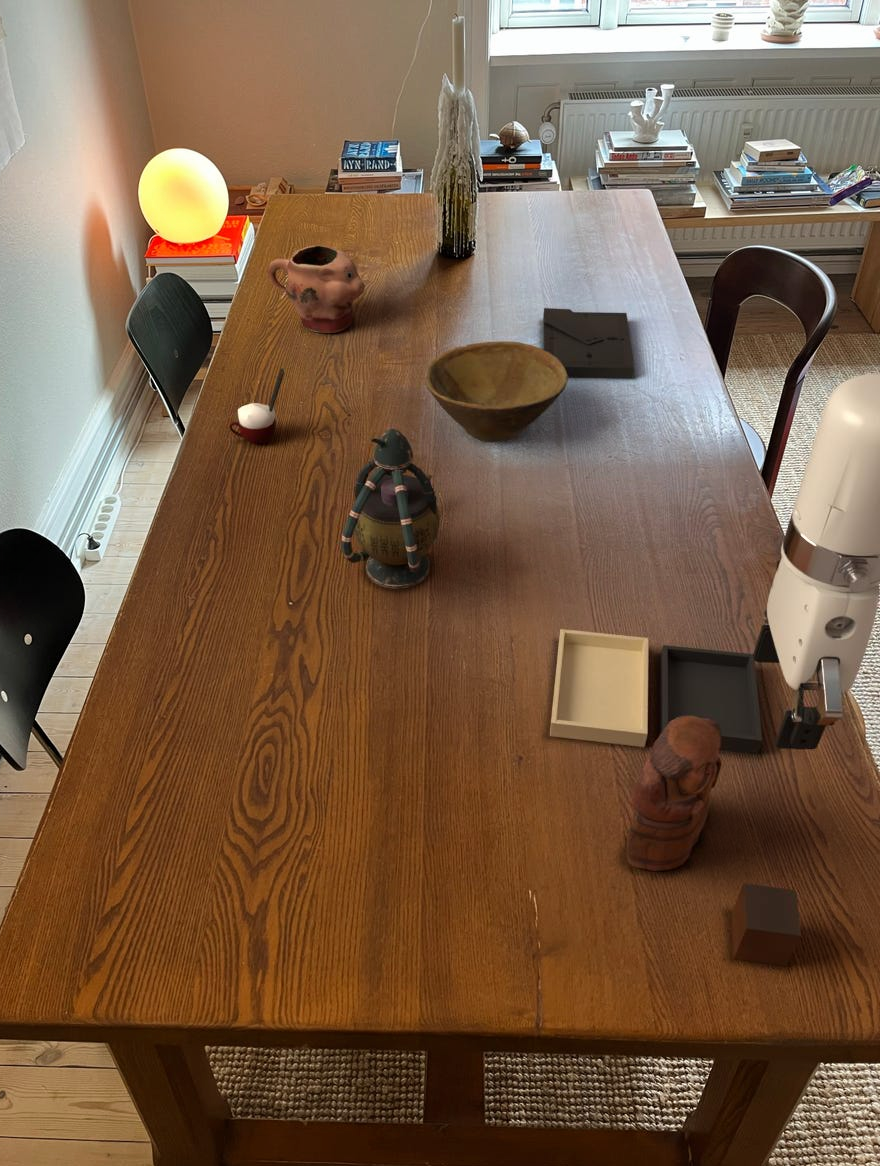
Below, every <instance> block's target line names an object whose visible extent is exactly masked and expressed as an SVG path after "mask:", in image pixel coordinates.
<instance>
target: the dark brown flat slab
mask: <svg viewBox="0 0 880 1166" xmlns="http://www.w3.org/2000/svg"><path fill="white" fill-rule="evenodd" d="M542 338H543V339H542V347H543V348H542V349H543V350H545V351H547V352H549V353H551V354H552V355H554V356H555V357H556V358H558V359H559V360H560V362H561V363H562V364H563V366H564V368H565V369H566V372H567V375H568V378H580V379H581V378H584V379H588V378H589V379H630V380H631V379H633V378H634V374H635V373H634V372H635V364H634V363H635V362H634V358H633V357H634V356H633V350H632V349H633V348H632V342H631V335H630V328H629V320H628V315H627V312H595V311H593V312H592V311H591V312H590V311H573V310H571V309H570V308H553V307H543V316H542Z"/></svg>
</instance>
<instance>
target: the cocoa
mask: <svg viewBox="0 0 880 1166" xmlns="http://www.w3.org/2000/svg"><path fill="white" fill-rule="evenodd" d="M284 370H285V369H283V368H280V370H279V372H278V375H277V379H276V381H275V386H274V389H273V391H272V395H271V398H270V401H269V404H268V405H267V404H263V403H260V402H251V403H249V404H246V405H243V406H241V407H239V408H238V409H237V417H238V418H237V421H231V422H230V423H229V430H230V431H231V432H232V433H233V434H234V435H236V436H238V437H240V438H244V440H245V441H247V442H248V443H251V444H254V445H255V444H256V445H261V444H265V443H267V442H268V441H270V440H271V439H272V438H273V437H274V435H275V432H276V426H277V425H276V424H277V421H276V420H277V419H276V415H277V413H276V410H275V409H274V407H275V404H276V400H277V397H278V394H279V391H280V387H281V385H282V382H283V378H284V376H285V371H284ZM233 426H237V427H238V429H239V432H238V431H236V430H235V429H233Z"/></svg>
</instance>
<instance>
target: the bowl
mask: <svg viewBox="0 0 880 1166" xmlns="http://www.w3.org/2000/svg"><path fill="white" fill-rule="evenodd" d="M568 379H569V377H568V375H567V372H566V369H565V368H564V366H563V364H562V363H561V362H560V360H559V359H558V358H556V357H555V356H554V355H552V354H551V353H549V352H547V351H545V350H543V348H541V347H538V346H534V345H532V344H528V343H523V342H520V341H505V340H504V341H485V342H476V343H471V344H470V343H469V344H466V345H464V346H463V345H460V346H457V347H454V348H452V349H448V350H446V351H444V352H442V353H440V354H439V355H438V356H436V357H435V358H434V359H433V360H432V361H431V362H430V363H429V364H428V366H427V369H426V371H425V375H424V381H425V386H426V388H427V390H428V391H429V392H430V394H431V395H432V396H433V398H434V399H435V401H436V402H437V403H438V404H439V405H440V406H441V408H442V409H443V410H444V411H445V412H446V413H447V414H448V415H449V416H450V417H451V419H453V420H454V421H455V422H456V423H457V424H458V425H459V426H461V428H463V429H464V430H465V432H466V433H467V434H468V435H469V436H471V437H473V438H475V439H477V440H480V441H483V442H489V443H493V442H503V441H507V440H509V439H512V438H514V437H516V436H517V435H520V433H521V432H522V431H524V430H525V429H526V428H528V427H529V426H530V425H531V424H533V423H534V422H535V421H536V420H538V418H540V417H541V416H542V415H544V414H545V412H546V411H547V410H548V409H549V408H550V407H551V406H552V405H553V404H554V403H555V402H556V401H557V399H558V398H559V397H560V396H561V395H562V393H563V392H564V390H565V388H566V386H567V384H568Z"/></svg>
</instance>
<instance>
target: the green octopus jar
mask: <svg viewBox="0 0 880 1166" xmlns="http://www.w3.org/2000/svg"><path fill="white" fill-rule="evenodd" d="M370 442H371V443H375V444H376V445H375V448H374V453H373V459H371V461H370V460H369V461H367V463H365V465H364V466H363V467H362V468H361V469H359V471H358V475H357V478H356V479H355V485H354V487H353V493H354V503H353V505H352V507H351V509H350V512H349V514H348V517H347V520H346V522H345V525H344V528H343V531H342V536H341V542H340V545H341V552H342V554H343V556H344V558H345V559H346V560H347V561H348V562H350V563H351V564H354V563H355V564H356V563H360V562H366V565H365V569H366V573H367V576H368V577H369V579H371V581H372V582H373V583H375V584H377V585H379V586H381V587H384V588H388V589H397V590H398V589H399V590H401V589H406V588H411V587H413V586H416V585H418V584H420V583H421V582H422V581H424V580H425V579H426V577H428V574H429V573H430V566H431V564H430V563H431V562H430V560H429V558H428V556H427V555H426V554H427V553H428V552H429V551H430V549H431V548H432V546H433V544H434V543H435V541H436V540H437V539H438V534H439V529H440V521H441V515H440V514H441V513H440V509H439V506H438V504H437V496H436V492H435V488H434V487H433V485H432V482H431V480H432V477H433V475H431V474H429V473H424V471H423V470H422V469H421V467H418V466H416V465H415V464H413V460H414V451H413V449H412V447H411V445H410V442H409V440H408V439H407V437H406V436H405V435H404V434H403V433H402V432H401V431H399V430H397V429H395V428H392V427H391V428H390V429H388V430H386V431H385V432H383V434H382V435H381V436H380V437H379V438H378V437H377V438H372V439H371V440H370ZM375 468H376V469H375ZM374 469H375V470H374ZM372 471H373V473H372V474H371V475H370V473H371V472H372ZM407 471H409V472H410V473H412V474H413V475H414V476H412V475H408V474H406V472H407ZM369 475H370V476H369ZM354 534H355V538H356V539H355V540H356V542H357V543H358V545H359V546H360V547H361V549H360V550H359V551H358V552H355V551H354V549H353V545H352V540H353V536H354Z"/></svg>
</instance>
